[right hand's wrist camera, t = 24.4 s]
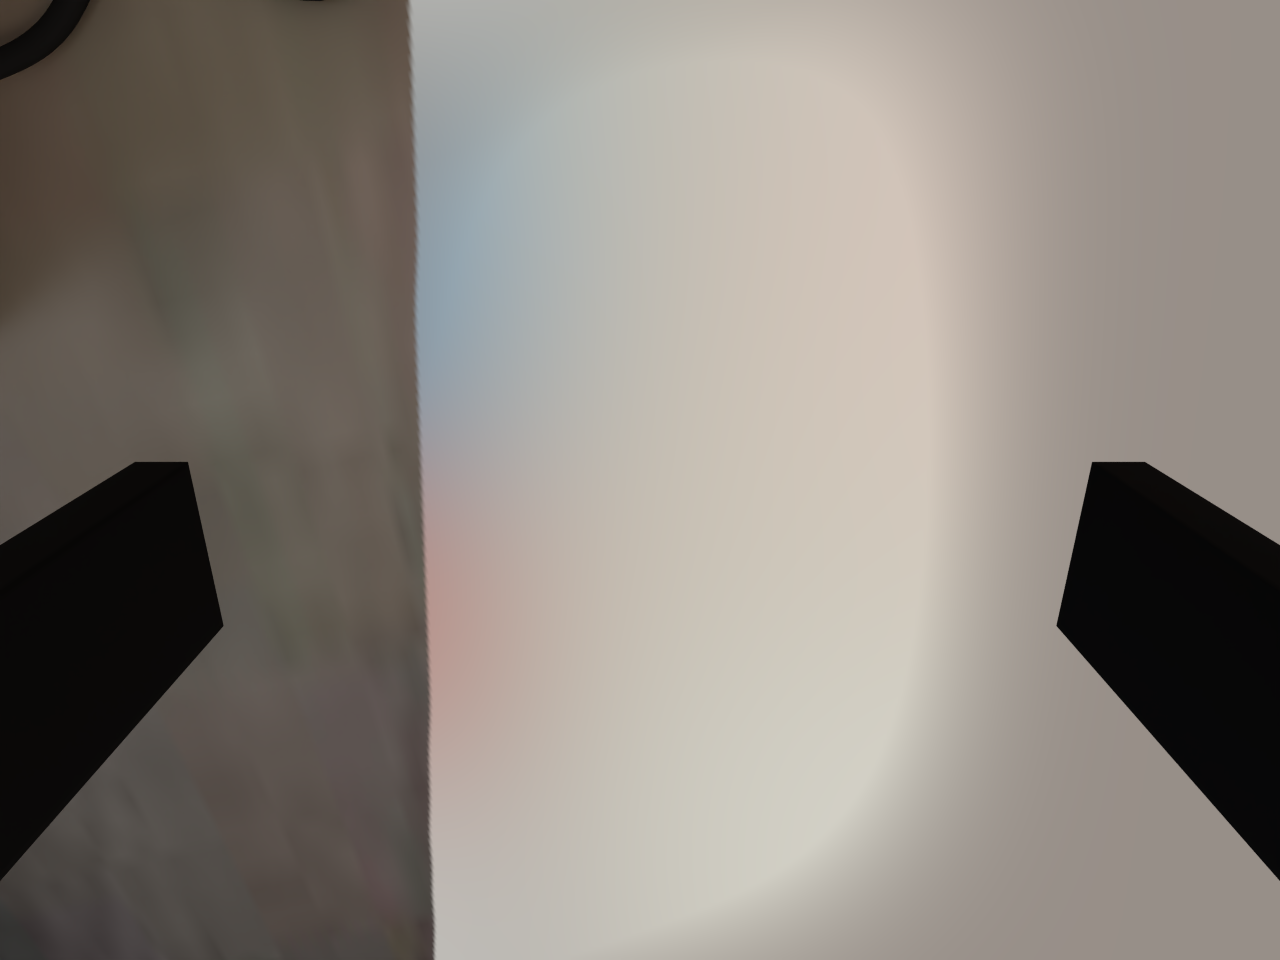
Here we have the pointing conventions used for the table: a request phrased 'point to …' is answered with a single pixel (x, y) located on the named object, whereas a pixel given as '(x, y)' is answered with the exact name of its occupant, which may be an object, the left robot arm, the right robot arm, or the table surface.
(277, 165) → the table surface
